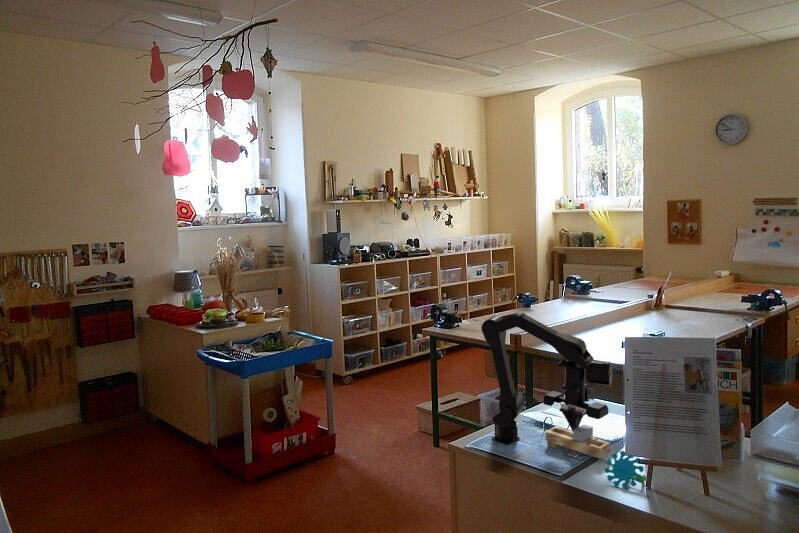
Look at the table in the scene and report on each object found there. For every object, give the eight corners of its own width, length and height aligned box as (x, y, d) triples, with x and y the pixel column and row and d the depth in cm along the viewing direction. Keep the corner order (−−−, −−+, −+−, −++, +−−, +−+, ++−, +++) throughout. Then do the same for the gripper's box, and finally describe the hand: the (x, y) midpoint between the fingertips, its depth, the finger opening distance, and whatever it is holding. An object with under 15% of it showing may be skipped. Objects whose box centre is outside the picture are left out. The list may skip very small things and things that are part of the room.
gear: (597, 475, 162) (614, 443, 165) (603, 483, 166) (620, 452, 169) (635, 495, 154) (653, 462, 157) (641, 503, 158) (658, 471, 161)
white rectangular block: (573, 444, 177) (573, 430, 177) (583, 438, 181) (583, 424, 180) (582, 447, 175) (582, 432, 174) (592, 441, 179) (592, 426, 178)
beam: (545, 446, 184) (544, 431, 184) (556, 440, 189) (556, 425, 188) (599, 465, 171) (599, 449, 171) (610, 457, 176) (610, 441, 175)
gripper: (618, 381, 176) (617, 432, 178) (561, 368, 190) (562, 416, 192) (598, 391, 169) (598, 444, 171) (541, 377, 182) (542, 426, 184)
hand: (574, 431), depth 180 cm, fingers closed
